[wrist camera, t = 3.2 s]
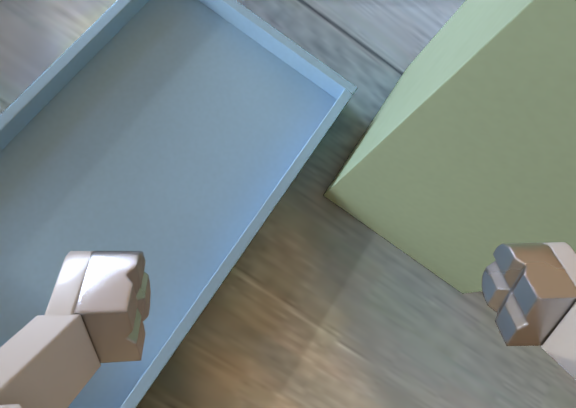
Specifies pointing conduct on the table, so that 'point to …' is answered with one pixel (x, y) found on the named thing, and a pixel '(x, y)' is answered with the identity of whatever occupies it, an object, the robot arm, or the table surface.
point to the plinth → (474, 142)
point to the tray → (155, 162)
